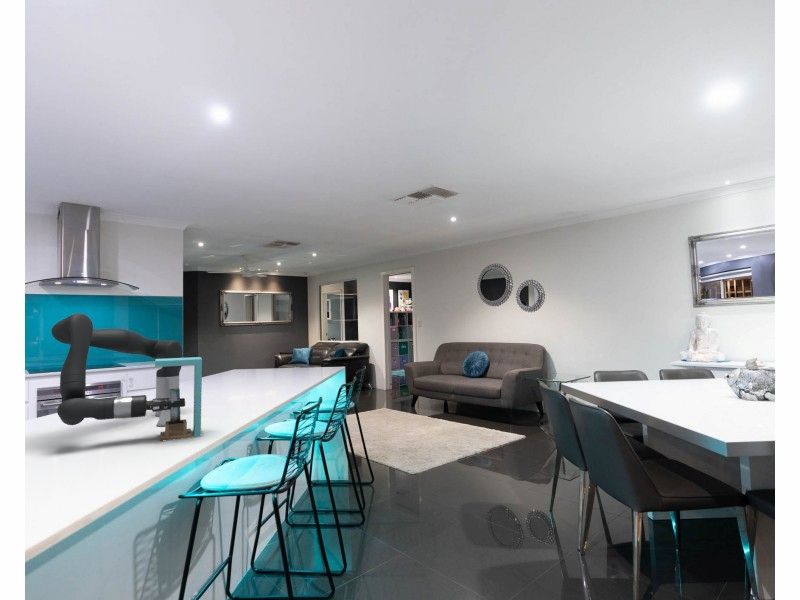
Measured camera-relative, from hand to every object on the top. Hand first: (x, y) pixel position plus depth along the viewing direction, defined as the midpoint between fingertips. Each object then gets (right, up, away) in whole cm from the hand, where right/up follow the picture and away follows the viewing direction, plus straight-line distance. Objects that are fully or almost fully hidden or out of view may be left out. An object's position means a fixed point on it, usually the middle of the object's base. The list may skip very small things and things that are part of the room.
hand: (184, 402), depth 158 cm
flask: (-15, -13, +15) cm, 25 cm away
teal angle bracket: (-2, -12, -2) cm, 12 cm away
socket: (-2, -12, -2) cm, 12 cm away
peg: (-2, -11, -2) cm, 11 cm away
